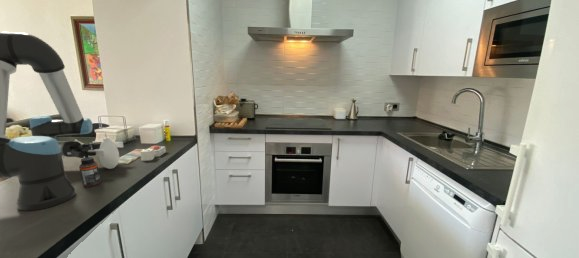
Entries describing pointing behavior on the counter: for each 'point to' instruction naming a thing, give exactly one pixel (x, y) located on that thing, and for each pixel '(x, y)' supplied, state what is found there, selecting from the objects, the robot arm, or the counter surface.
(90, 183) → the supplement bottle
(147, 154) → the ivory die
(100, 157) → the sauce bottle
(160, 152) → the button housing
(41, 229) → the counter surface
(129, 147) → the counter surface
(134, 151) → the track board
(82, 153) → the robot arm
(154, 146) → the red button
